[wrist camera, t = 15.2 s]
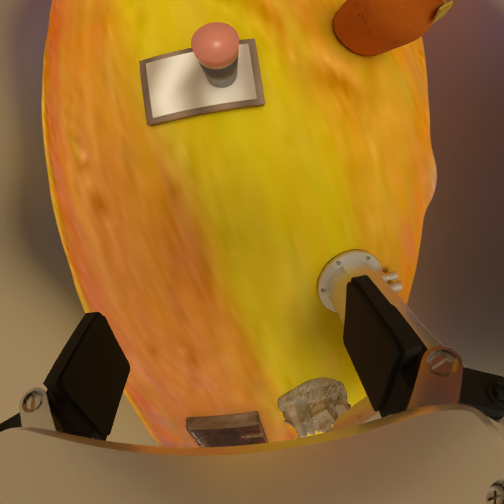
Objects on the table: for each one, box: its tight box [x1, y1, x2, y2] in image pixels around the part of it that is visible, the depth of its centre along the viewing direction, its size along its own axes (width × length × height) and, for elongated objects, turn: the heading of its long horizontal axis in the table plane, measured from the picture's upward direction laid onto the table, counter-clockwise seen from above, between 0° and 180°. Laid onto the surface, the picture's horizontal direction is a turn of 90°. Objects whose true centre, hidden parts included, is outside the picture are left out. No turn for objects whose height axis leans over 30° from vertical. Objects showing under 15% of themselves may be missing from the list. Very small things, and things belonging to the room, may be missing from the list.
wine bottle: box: [333, 0, 452, 56], centre depth 16 cm, size 10×10×30 cm
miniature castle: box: [278, 378, 351, 438], centre depth 55 cm, size 16×16×15 cm
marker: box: [191, 22, 239, 88], centre depth 24 cm, size 4×4×14 cm
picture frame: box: [139, 39, 265, 126], centre depth 32 cm, size 16×10×3 cm, turn 98°
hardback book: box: [186, 411, 268, 447], centre depth 66 cm, size 29×19×5 cm, turn 10°
